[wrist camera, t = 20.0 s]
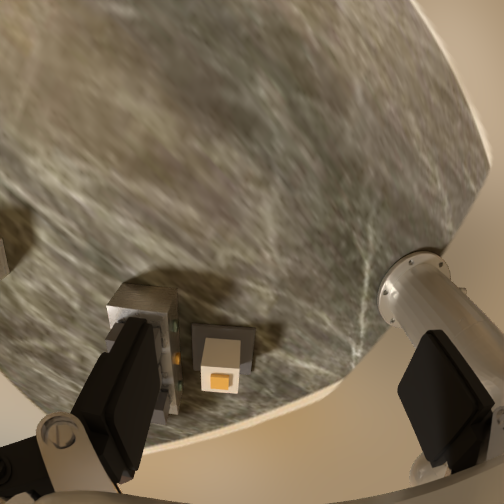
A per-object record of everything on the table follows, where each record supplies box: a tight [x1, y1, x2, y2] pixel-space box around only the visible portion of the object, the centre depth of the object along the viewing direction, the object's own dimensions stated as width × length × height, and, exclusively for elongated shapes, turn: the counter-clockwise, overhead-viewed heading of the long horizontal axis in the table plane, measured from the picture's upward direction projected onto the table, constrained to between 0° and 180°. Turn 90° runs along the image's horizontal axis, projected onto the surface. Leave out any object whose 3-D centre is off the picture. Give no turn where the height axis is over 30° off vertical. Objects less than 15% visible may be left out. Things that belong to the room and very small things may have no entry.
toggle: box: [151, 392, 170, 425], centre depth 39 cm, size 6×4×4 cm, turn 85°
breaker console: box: [107, 283, 184, 415], centre depth 42 cm, size 8×20×6 cm, turn 175°
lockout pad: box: [192, 323, 255, 375], centre depth 45 cm, size 9×9×1 cm
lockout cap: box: [201, 338, 241, 393], centre depth 41 cm, size 5×5×7 cm
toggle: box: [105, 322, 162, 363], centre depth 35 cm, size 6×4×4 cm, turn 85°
